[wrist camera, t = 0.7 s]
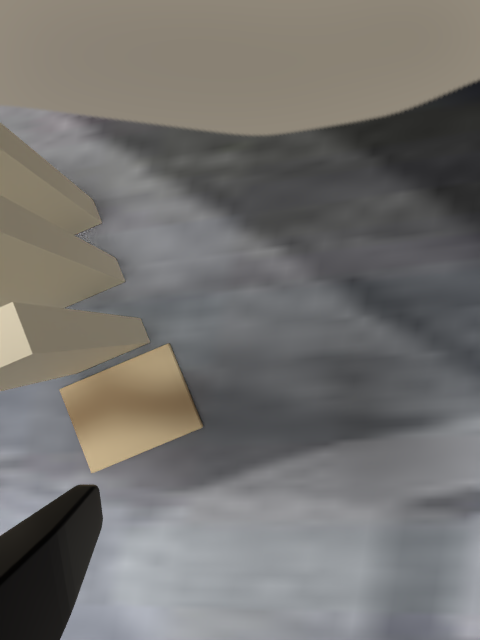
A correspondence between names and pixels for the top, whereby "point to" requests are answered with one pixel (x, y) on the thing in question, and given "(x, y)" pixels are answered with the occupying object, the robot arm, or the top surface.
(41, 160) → the ivory domino
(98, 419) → the birch pad
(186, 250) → the top surface
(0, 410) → the top surface
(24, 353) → the ivory domino
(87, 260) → the ivory domino
